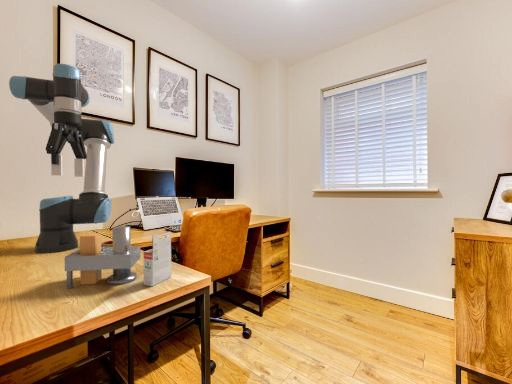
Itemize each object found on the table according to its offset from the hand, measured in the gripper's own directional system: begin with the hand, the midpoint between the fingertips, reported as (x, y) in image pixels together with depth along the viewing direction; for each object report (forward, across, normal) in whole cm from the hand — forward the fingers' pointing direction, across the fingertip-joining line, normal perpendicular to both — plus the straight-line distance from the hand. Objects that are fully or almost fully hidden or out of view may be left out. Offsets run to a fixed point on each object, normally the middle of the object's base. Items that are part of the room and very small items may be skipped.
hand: (69, 176), depth 86 cm
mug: (+32, -12, +8) cm, 35 cm away
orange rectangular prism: (+32, +14, +12) cm, 37 cm away
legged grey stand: (+32, +14, +17) cm, 38 cm away
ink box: (+32, +17, +32) cm, 48 cm away
